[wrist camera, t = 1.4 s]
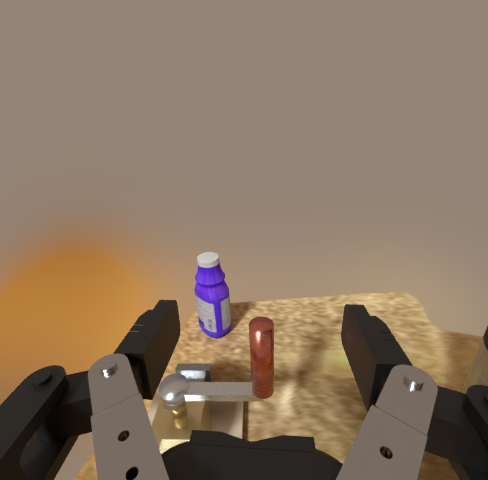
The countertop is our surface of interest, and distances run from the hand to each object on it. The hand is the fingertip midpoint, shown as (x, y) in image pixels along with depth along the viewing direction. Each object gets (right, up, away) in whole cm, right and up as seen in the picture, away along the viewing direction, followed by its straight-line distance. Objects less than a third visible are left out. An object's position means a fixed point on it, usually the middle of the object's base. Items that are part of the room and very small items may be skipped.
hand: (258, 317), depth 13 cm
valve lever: (-4, -14, +18) cm, 23 cm away
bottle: (-7, -15, +45) cm, 48 cm away
